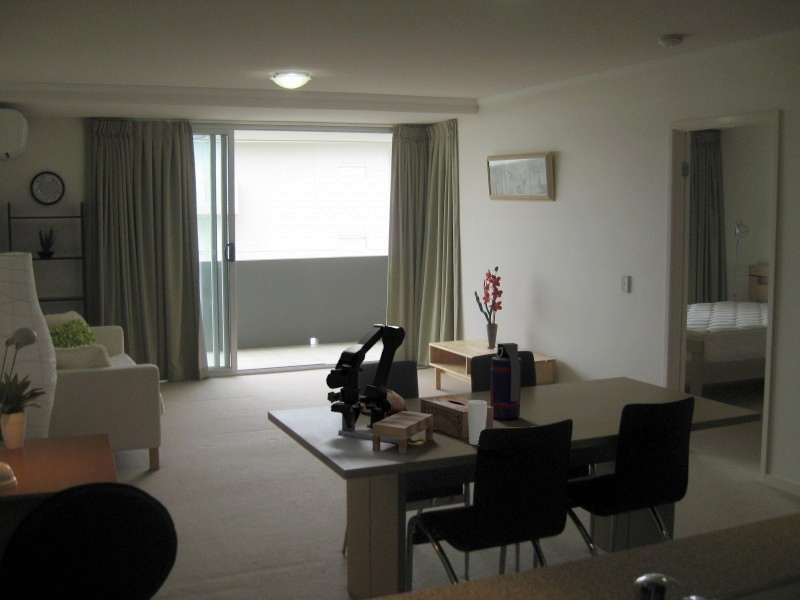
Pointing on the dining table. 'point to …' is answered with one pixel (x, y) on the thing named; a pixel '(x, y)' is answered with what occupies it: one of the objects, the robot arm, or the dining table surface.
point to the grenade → (506, 382)
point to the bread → (394, 400)
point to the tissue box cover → (451, 414)
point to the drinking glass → (476, 419)
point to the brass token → (415, 441)
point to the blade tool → (361, 432)
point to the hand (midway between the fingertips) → (350, 427)
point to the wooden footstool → (402, 428)
